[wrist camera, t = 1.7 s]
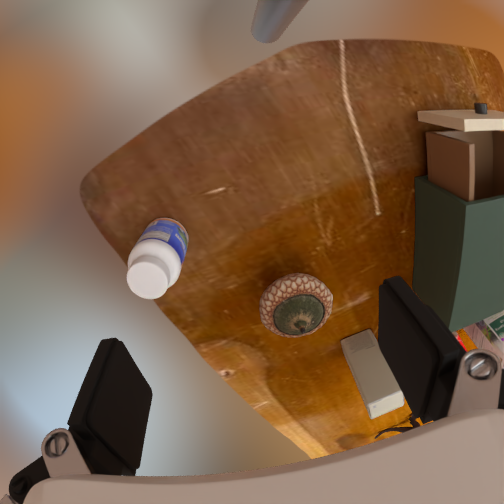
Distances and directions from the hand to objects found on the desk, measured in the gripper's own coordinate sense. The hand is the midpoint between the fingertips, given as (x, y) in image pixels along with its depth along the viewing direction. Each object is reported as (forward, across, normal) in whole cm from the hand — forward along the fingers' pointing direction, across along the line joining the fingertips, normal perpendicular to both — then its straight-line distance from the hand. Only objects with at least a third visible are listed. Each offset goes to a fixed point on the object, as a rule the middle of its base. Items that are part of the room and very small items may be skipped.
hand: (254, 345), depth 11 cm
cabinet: (+26, -28, +12) cm, 40 cm away
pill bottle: (+26, +10, +5) cm, 28 cm away
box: (+26, -12, +28) cm, 40 cm away
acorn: (+26, -3, +14) cm, 30 cm away
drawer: (+25, -28, +3) cm, 38 cm away
